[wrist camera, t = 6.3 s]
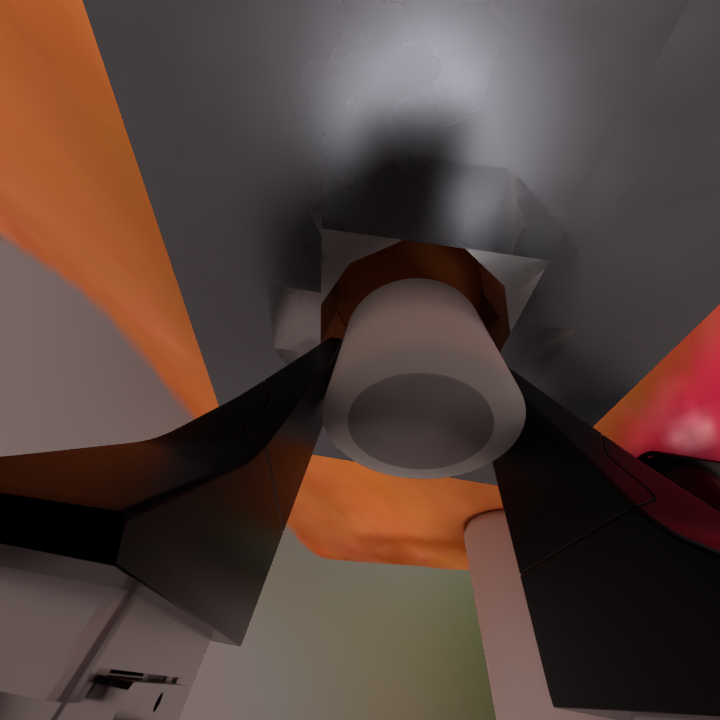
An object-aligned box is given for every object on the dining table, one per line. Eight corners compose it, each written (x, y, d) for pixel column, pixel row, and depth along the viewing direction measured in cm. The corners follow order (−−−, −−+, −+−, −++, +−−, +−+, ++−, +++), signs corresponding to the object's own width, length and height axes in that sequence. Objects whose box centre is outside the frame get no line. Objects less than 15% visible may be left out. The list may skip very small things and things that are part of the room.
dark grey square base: (802, 47, 7) (1069, -34, 4) (506, 440, 18) (526, 490, 15) (169, -23, 8) (36, -136, 5) (256, 399, 18) (230, 440, 16)
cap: (506, 290, 8) (577, 369, 5) (454, 398, 11) (478, 493, 8) (352, 267, 8) (322, 330, 5) (342, 381, 11) (319, 466, 8)
